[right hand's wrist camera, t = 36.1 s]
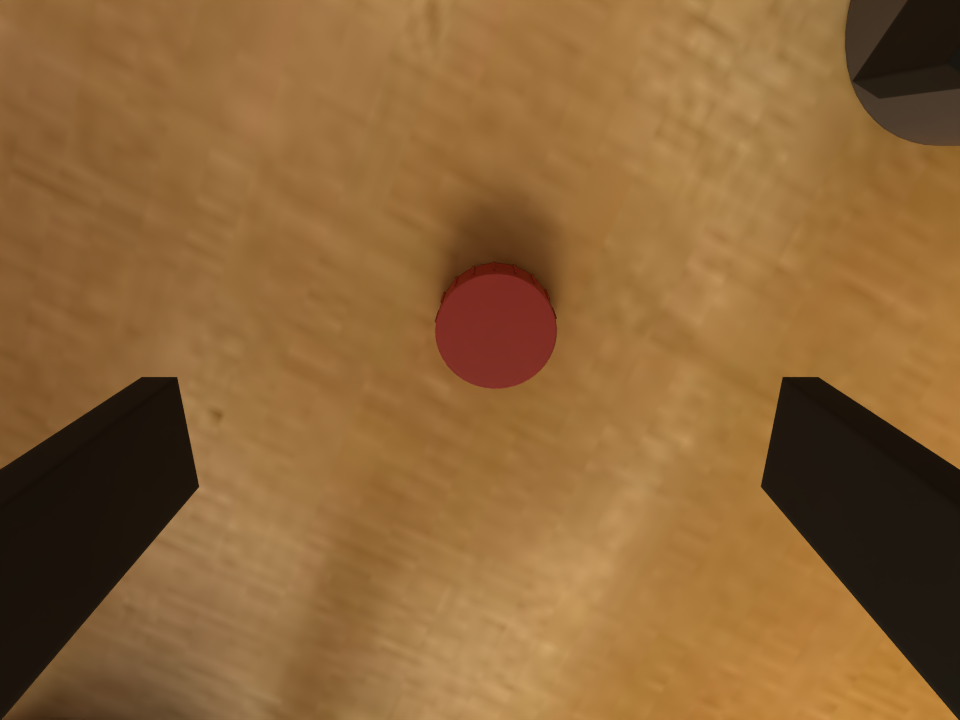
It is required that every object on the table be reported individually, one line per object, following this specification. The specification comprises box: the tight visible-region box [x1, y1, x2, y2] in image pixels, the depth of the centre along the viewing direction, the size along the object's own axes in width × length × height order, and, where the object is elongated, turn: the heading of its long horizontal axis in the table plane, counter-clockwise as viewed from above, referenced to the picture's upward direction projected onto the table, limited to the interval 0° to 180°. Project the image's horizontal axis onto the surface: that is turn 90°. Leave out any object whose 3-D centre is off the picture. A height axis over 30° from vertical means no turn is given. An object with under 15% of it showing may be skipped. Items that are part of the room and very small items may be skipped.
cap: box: [435, 262, 557, 389], centre depth 19 cm, size 4×4×2 cm
